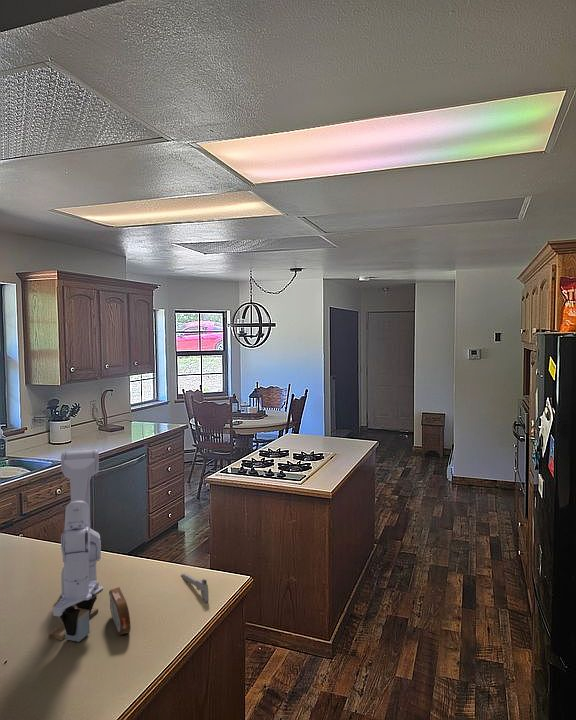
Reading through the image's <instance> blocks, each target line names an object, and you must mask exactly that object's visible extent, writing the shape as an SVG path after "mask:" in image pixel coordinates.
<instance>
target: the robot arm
mask: <svg viewBox="0 0 576 720" xmlns="http://www.w3.org/2000/svg"><path fill="white" fill-rule="evenodd" d="M99 456H100V455H99V450H98V449H97V448H95V449H86V450H85V449H83V450H82V449H81V450H71V451H70V450H69V451H66V450H63V451H62V452H61V456H60V471H61V473H62V474H63V475H64V478H67V479H69V484H70V485H69V486H70V489H69V490H70V502H69V503H68V504H67V505H66V507H65V515H64V528H63V529H64V531H63V532H62V533H61V537H60V538H61V539H60V550H61V554H62V562H63V567H62V570H61V573H60V574H61V579H60V580H61V593H60V594H59V597H61V598H60V600H59V601H58V602H57V603H56V605H54V606H53V607H52V615H53V616H55V617H59V618H60V620H61V621H62V624H64V626H65V629H66V633H67V635H71V636H74V635H75V634H76V629H77V618H78V615H79V612H80V609H75V608H81V609H87V610H89V617H90V613H91V610H92V608H94V604H95V603H96V601H97V596H98V595H97V594H98V593H99V592H100V591H102V590H103V589H104V586H101V585H100V583H99V581H98V580H97V578H98V577H97V576H98V575H97V574H98V573H97V562H100V560H101V558H102V543H101V541H102V540H101V535H100V533H99V532H98V531H95V530H94V529H93V528H91V490H90V489H91V487H90V486H91V485H90V482H91V479H92V477H93V476H94V475H97V474H98V473H99V470H100V469H99V467H100V464H99V461H100V457H99ZM74 605H76V607H75V606H74Z"/></svg>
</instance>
